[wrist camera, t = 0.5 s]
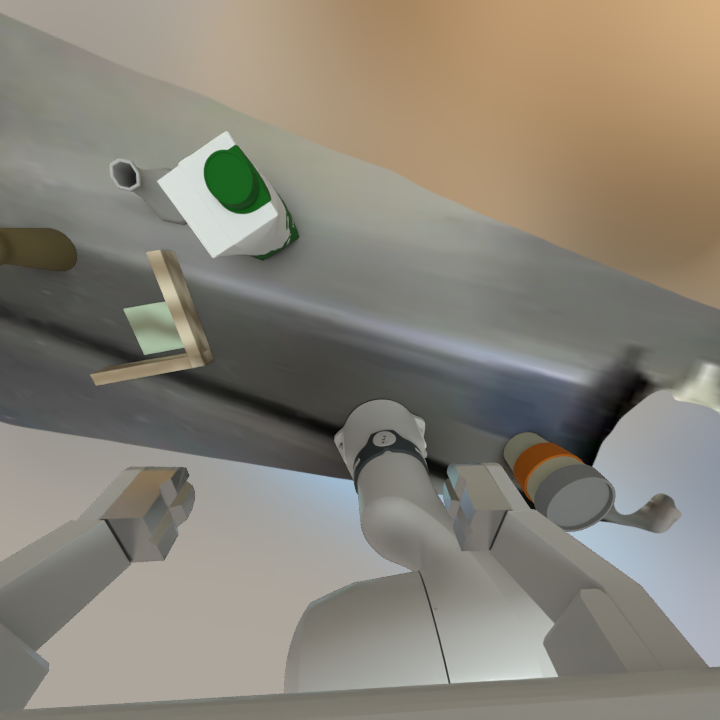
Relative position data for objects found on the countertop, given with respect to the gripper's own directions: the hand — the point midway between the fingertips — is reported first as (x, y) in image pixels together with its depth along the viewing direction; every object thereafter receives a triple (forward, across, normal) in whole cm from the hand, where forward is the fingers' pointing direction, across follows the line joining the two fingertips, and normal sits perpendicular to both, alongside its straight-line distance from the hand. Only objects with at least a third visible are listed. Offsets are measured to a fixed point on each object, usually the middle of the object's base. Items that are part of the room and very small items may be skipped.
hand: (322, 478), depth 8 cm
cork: (+40, -43, +3) cm, 59 cm away
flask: (+41, -24, +10) cm, 49 cm away
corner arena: (+38, -33, -7) cm, 51 cm away
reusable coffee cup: (+37, +41, -35) cm, 65 cm away
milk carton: (+41, -12, +7) cm, 43 cm away
